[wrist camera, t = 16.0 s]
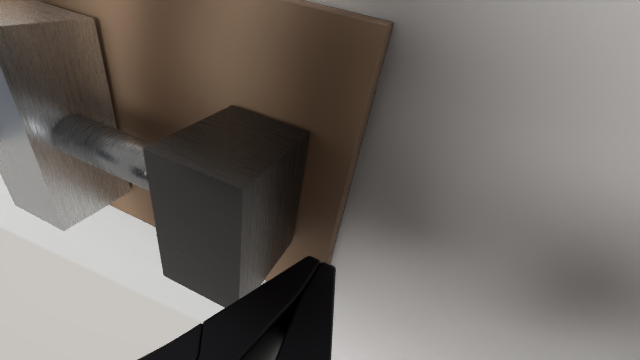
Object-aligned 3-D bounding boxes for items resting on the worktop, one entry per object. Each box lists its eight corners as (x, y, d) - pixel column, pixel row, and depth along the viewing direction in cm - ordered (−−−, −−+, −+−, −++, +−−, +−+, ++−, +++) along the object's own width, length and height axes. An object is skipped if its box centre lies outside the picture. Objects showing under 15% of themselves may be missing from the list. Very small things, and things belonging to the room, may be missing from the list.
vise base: (393, 22, 9) (339, 45, 6) (323, 288, 16) (278, 375, 12) (-159, -111, 16) (-343, -138, 12) (-45, 116, 23) (-142, 140, 19)
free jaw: (317, 86, 10) (244, 131, 7) (289, 265, 14) (237, 339, 11) (36, 0, 13) (-103, 5, 10) (86, 171, 17) (2, 211, 14)
